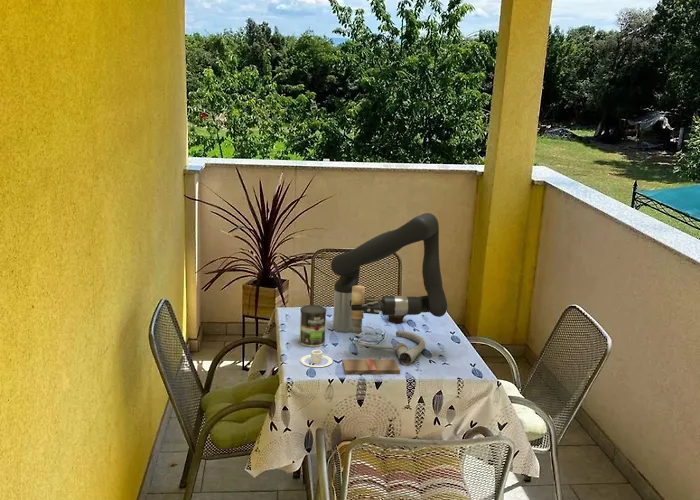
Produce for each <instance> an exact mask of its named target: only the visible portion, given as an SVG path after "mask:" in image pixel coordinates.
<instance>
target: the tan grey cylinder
mask: <svg viewBox="0 0 700 500" xmlns="http://www.w3.org/2000/svg"><path fill="white" fill-rule="evenodd" d="M365 291H366V287H365V286H363V285H356V286H352V301H351V305H361V306H362V305H363V304H364V298H365V294H366V293H365ZM364 314H365V313H364V312H362V311H352V310H351V318H352V323H351V331H350V332H351V333H352V334H353V335H355V334H356V335H359V334H361V333H362V330H363V329H362V327H363V319H364Z"/></svg>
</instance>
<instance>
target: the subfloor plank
mask: <svg viewBox="0 0 700 500" xmlns="http://www.w3.org/2000/svg"><path fill="white" fill-rule="evenodd" d="M342 367H343V371H344V375H401V369H400V367H399V364H398V362H397V360H396V358H382V359H381V358H378V359H377V358H363V359H362V358H360V359H359V358H355V359H354V358H351V359H350V358H349V359H348V358H347V359H345V358H343V359H342Z"/></svg>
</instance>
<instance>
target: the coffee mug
mask: <svg viewBox="0 0 700 500" xmlns="http://www.w3.org/2000/svg"><path fill="white" fill-rule="evenodd" d="M387 316H388V317H387V318H388V322H389V323H391V324H395V325H396V324H397V325H398V324H402V323H403V322H404V318H405V317H406V316H407V315H387Z"/></svg>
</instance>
